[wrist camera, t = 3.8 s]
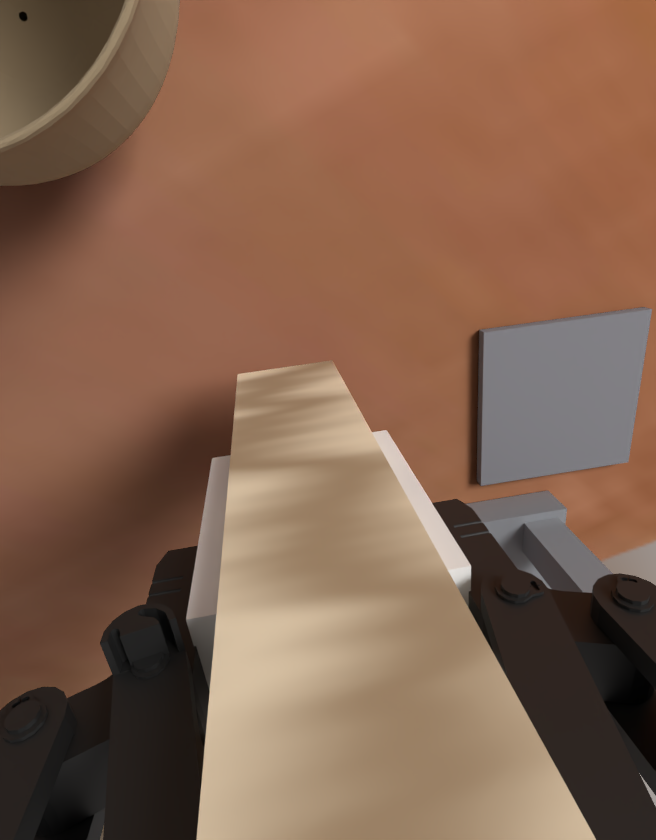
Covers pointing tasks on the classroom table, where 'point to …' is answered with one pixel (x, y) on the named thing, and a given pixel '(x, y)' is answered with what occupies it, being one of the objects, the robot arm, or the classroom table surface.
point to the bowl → (77, 80)
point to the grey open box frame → (541, 540)
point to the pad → (558, 394)
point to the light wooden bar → (352, 651)
